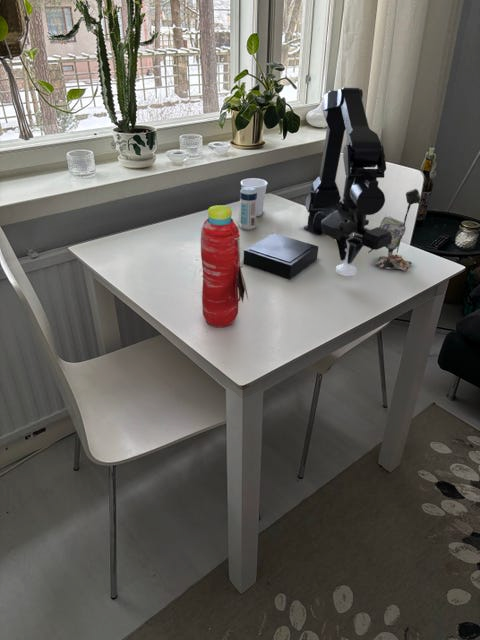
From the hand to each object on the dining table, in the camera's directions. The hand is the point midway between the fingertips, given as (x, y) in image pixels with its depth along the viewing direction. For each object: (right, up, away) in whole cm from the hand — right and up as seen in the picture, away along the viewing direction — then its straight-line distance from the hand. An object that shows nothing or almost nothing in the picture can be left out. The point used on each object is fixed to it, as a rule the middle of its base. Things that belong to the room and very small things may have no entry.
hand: (346, 261), depth 116 cm
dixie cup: (-21, +20, +40) cm, 50 cm away
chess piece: (0, -2, +2) cm, 3 cm away
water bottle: (-28, -15, -13) cm, 35 cm away
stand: (-15, +1, +11) cm, 19 cm away
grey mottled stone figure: (+14, +1, +12) cm, 18 cm away
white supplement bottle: (-23, +14, +30) cm, 41 cm away
